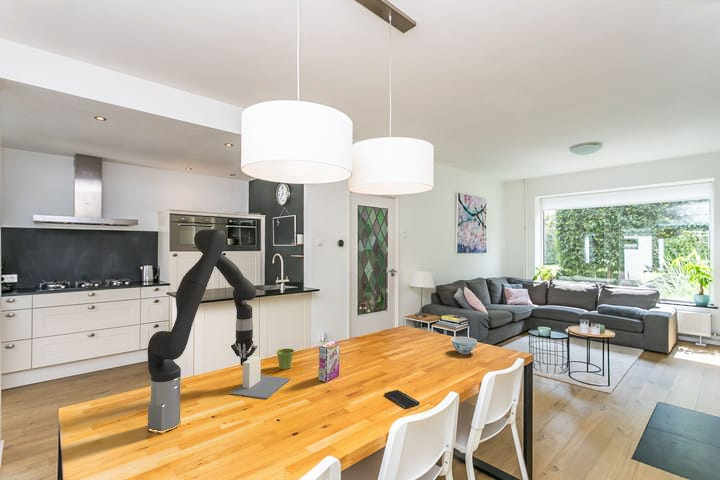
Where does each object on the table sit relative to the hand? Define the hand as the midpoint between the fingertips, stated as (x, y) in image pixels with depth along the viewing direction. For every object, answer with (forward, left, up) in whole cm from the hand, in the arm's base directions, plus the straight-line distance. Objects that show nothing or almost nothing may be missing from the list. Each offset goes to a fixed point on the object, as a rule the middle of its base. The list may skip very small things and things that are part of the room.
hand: (244, 365), depth 160 cm
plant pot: (+25, -8, -9) cm, 28 cm away
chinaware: (+78, -99, -9) cm, 126 cm away
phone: (+4, -72, -9) cm, 73 cm away
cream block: (0, -4, -8) cm, 9 cm away
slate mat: (0, -9, -8) cm, 13 cm away
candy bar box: (+18, -35, -9) cm, 40 cm away
